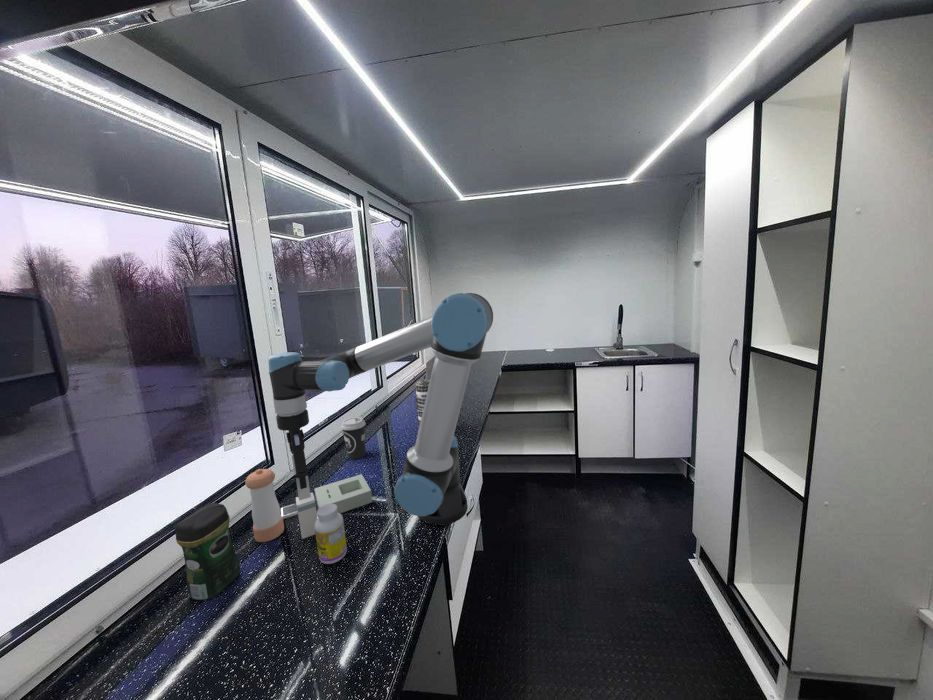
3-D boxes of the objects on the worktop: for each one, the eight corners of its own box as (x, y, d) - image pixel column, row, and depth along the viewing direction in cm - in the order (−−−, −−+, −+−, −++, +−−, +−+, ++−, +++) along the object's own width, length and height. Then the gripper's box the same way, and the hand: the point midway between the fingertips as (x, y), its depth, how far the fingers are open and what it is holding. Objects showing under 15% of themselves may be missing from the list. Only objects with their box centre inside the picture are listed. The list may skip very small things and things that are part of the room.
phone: (314, 508, 108) (314, 505, 108) (281, 519, 104) (281, 516, 103) (312, 501, 112) (312, 497, 112) (281, 511, 108) (280, 507, 108)
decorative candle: (441, 430, 163) (438, 378, 159) (431, 438, 155) (427, 383, 151) (425, 428, 167) (420, 377, 163) (414, 435, 159) (409, 382, 154)
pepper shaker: (251, 545, 94) (238, 479, 90) (259, 527, 100) (248, 465, 97) (280, 538, 95) (270, 473, 92) (286, 522, 102) (276, 461, 99)
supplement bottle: (315, 555, 89) (308, 508, 86) (341, 541, 93) (335, 497, 91) (324, 570, 83) (317, 521, 81) (351, 555, 88) (345, 509, 85)
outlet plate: (321, 519, 102) (319, 507, 102) (315, 499, 113) (314, 488, 112) (372, 502, 110) (371, 490, 109) (362, 484, 120) (361, 473, 119)
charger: (319, 532, 97) (314, 499, 95) (301, 539, 95) (296, 505, 93) (317, 523, 101) (312, 492, 99) (300, 529, 99) (295, 497, 97)
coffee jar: (220, 566, 87) (207, 497, 84) (247, 570, 85) (234, 500, 82) (181, 600, 77) (164, 524, 74) (209, 605, 75) (193, 528, 72)
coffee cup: (365, 460, 137) (360, 424, 135) (340, 461, 138) (336, 425, 135) (371, 449, 147) (368, 415, 144) (349, 450, 147) (345, 416, 145)
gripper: (313, 422, 83) (323, 504, 87) (302, 397, 104) (311, 463, 108) (277, 430, 79) (290, 515, 83) (274, 402, 101) (284, 470, 104)
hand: (302, 486), depth 95 cm, fingers open, 13 cm apart
